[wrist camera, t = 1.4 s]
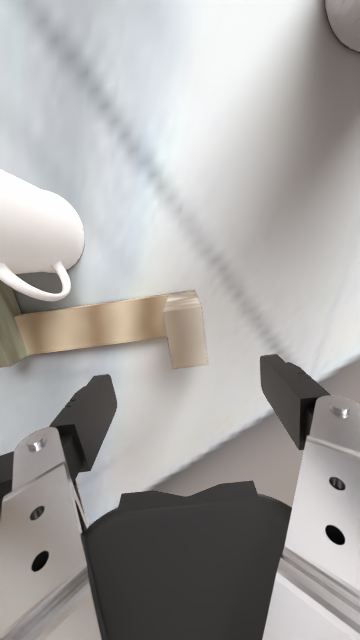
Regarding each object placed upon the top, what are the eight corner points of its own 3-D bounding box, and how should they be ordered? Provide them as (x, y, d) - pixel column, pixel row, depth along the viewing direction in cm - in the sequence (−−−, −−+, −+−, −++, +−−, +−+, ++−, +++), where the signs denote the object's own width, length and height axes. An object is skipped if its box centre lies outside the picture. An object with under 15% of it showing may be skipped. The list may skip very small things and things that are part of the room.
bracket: (177, 150, 21) (175, 73, 12) (199, 329, 26) (208, 364, 17) (-39, 188, 22) (-185, 141, 13) (23, 352, 27) (-51, 396, 18)
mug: (116, 273, 24) (58, 285, 13) (60, 308, 26) (-39, 349, 14) (51, 173, 22) (-98, 75, 10) (-8, 218, 23) (-201, 177, 11)
